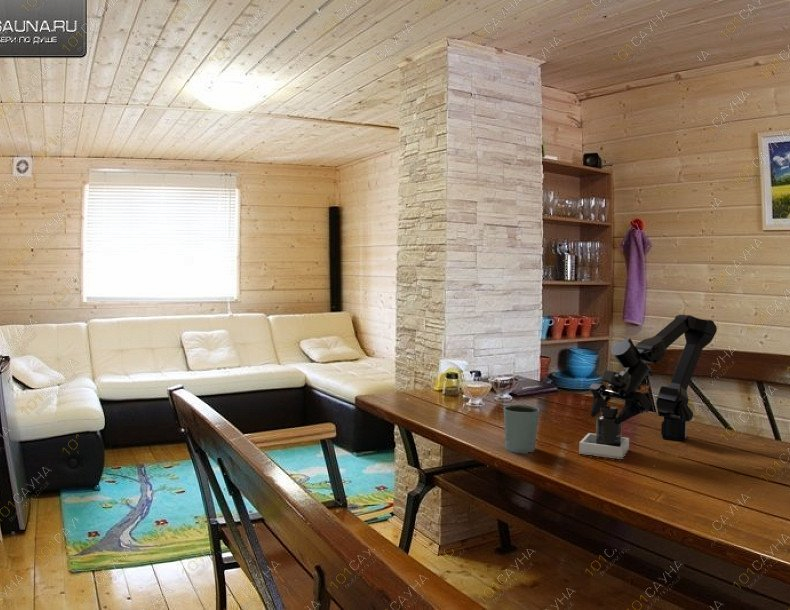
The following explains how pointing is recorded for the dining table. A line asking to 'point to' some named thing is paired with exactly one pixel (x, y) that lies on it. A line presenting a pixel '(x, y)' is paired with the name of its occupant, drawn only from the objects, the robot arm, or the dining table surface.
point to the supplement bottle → (608, 427)
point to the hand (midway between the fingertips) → (604, 419)
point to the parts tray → (602, 447)
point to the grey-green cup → (520, 428)
